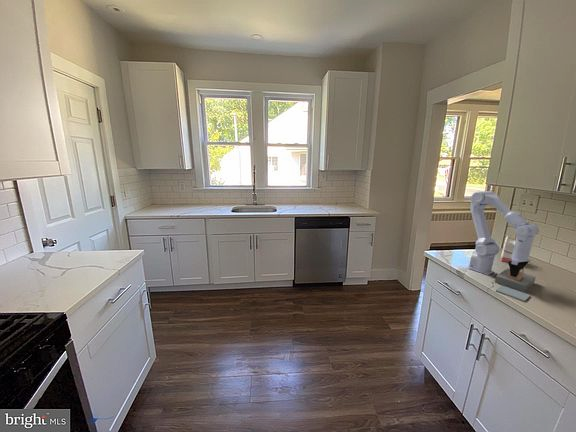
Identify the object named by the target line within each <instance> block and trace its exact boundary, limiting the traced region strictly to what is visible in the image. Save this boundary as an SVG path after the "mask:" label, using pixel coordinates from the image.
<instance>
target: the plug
mask: <svg viewBox="0 0 576 432" xmlns="http://www.w3.org/2000/svg"><path fill="white" fill-rule="evenodd" d="M508 269H509V272H508V276H507V277H509V278H512V279H515V280H518V281H521V280H522V277H523V273H525V269H521V270H520V271H519V273H518V275H517V277H513V276H510V267H509V268H508Z"/></svg>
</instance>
